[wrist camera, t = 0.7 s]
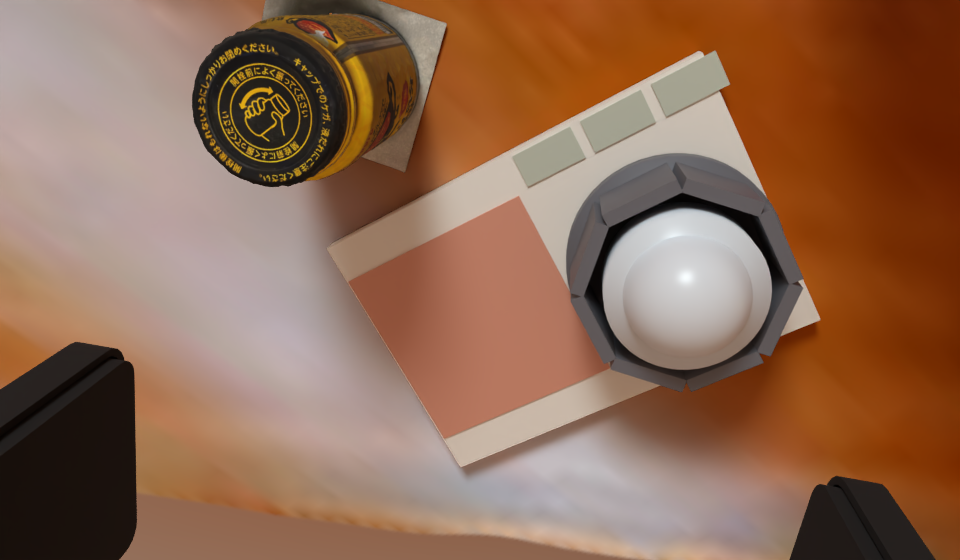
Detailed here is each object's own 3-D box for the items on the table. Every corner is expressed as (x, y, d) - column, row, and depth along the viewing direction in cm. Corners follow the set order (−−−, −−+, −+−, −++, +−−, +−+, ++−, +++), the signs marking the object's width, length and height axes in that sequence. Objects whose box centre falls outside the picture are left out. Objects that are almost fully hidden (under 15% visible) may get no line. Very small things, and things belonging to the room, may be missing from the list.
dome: (720, 173, 32) (746, 202, 27) (781, 307, 34) (816, 357, 29) (575, 242, 34) (575, 281, 29) (640, 367, 36) (650, 423, 31)
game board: (709, 45, 34) (733, 51, 29) (824, 307, 37) (865, 356, 32) (332, 243, 39) (294, 278, 34) (463, 457, 43) (447, 520, 37)
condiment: (405, 171, 38) (334, 239, 26) (244, 117, 38) (103, 161, 26) (447, 23, 35) (388, 28, 24) (273, -35, 35) (132, -58, 24)
